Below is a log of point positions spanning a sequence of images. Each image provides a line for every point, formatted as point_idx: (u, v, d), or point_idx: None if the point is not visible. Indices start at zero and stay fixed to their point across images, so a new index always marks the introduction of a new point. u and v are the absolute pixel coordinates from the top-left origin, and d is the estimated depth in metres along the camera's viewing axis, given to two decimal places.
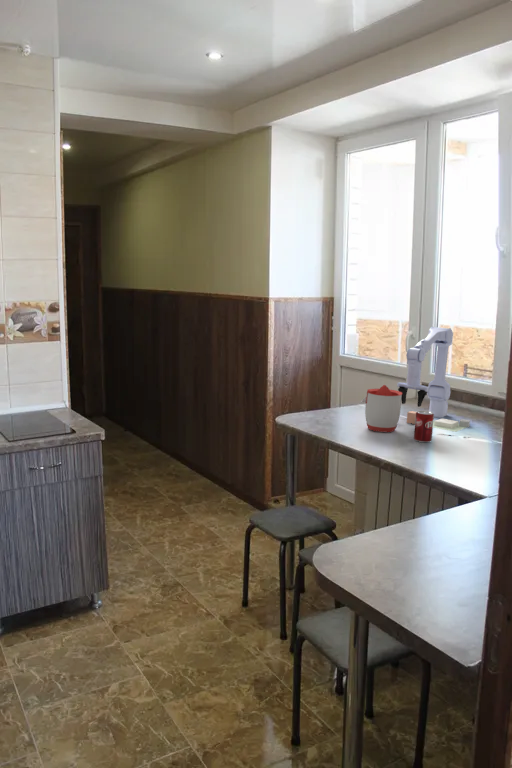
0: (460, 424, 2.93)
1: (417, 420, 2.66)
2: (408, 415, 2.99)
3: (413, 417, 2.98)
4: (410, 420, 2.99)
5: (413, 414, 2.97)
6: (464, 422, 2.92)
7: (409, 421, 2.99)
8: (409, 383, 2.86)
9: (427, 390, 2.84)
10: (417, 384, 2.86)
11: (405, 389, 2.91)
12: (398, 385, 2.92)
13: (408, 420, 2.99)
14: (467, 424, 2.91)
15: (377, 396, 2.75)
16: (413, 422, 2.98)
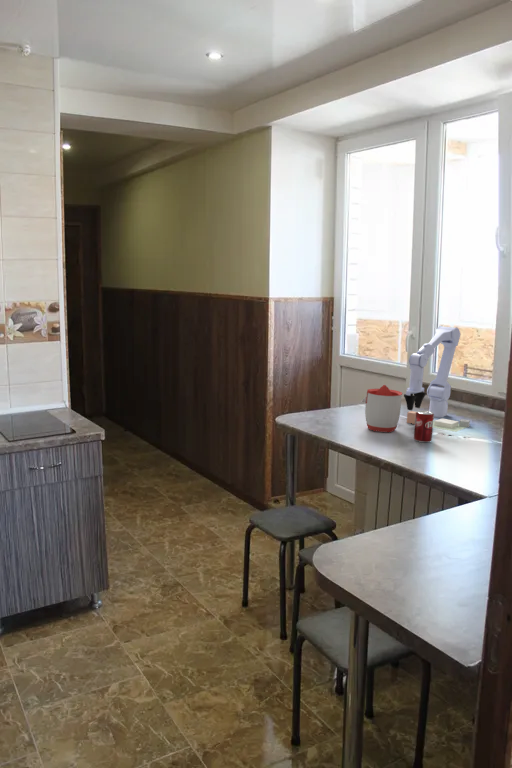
0: (460, 424, 2.93)
1: (417, 420, 2.66)
2: (408, 415, 2.99)
3: (413, 417, 2.98)
4: (410, 420, 2.99)
5: (413, 414, 2.97)
6: (464, 422, 2.92)
7: (410, 421, 2.99)
8: None
9: (406, 394, 2.93)
10: (410, 388, 2.96)
11: (419, 394, 3.01)
12: None
13: (408, 420, 2.99)
14: (467, 424, 2.91)
15: (377, 396, 2.75)
16: (413, 422, 2.98)
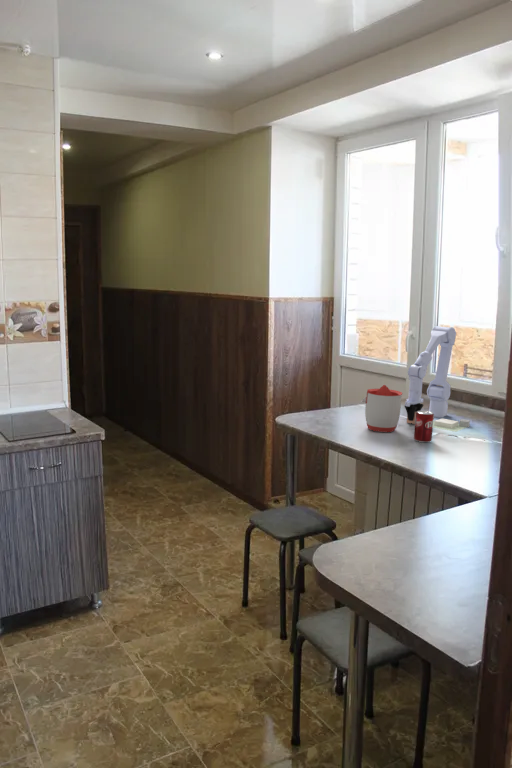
0: (460, 424, 2.93)
1: (417, 420, 2.66)
2: None
3: None
4: None
5: None
6: (464, 422, 2.92)
7: (410, 421, 2.99)
8: None
9: (406, 405, 2.94)
10: (409, 399, 2.97)
11: (416, 405, 3.00)
12: None
13: (408, 420, 2.99)
14: (467, 424, 2.91)
15: (377, 396, 2.75)
16: (413, 422, 2.98)
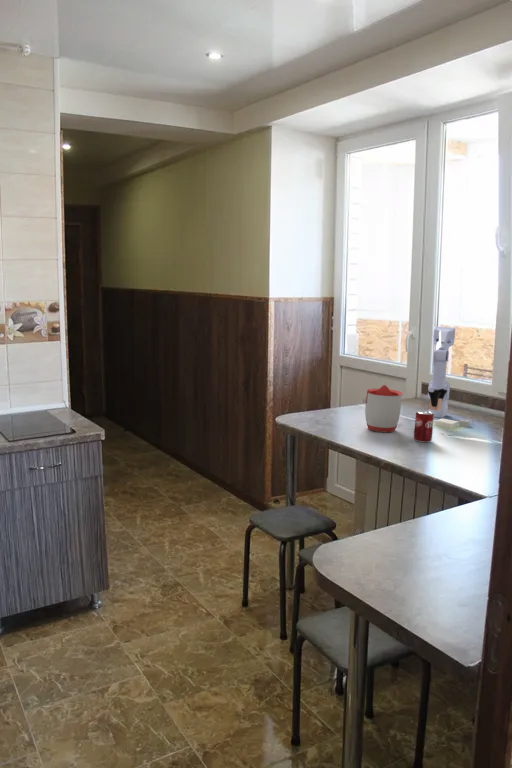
0: (460, 424, 2.93)
1: (417, 420, 2.66)
2: None
3: None
4: None
5: None
6: (464, 422, 2.92)
7: (432, 407, 2.93)
8: None
9: (429, 390, 2.88)
10: (433, 384, 2.91)
11: (440, 391, 2.94)
12: None
13: (431, 406, 2.94)
14: (467, 424, 2.91)
15: (377, 396, 2.75)
16: (436, 408, 2.92)
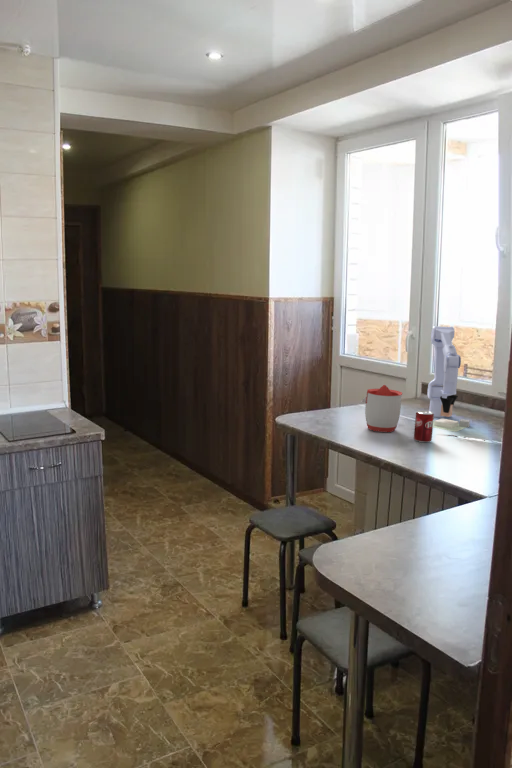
0: (460, 424, 2.93)
1: (417, 420, 2.66)
2: (442, 408, 2.91)
3: None
4: None
5: None
6: (464, 422, 2.92)
7: (444, 414, 2.91)
8: None
9: (443, 396, 2.85)
10: (445, 390, 2.89)
11: (451, 397, 2.92)
12: None
13: (442, 413, 2.91)
14: (467, 424, 2.91)
15: (377, 396, 2.75)
16: (448, 415, 2.90)
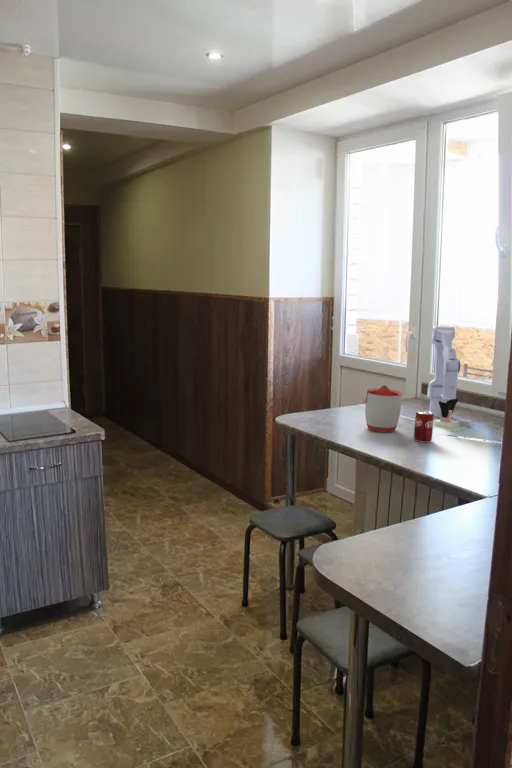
0: (460, 424, 2.93)
1: (417, 420, 2.66)
2: None
3: None
4: (444, 418, 2.91)
5: None
6: (464, 422, 2.92)
7: (443, 419, 2.91)
8: None
9: (442, 401, 2.85)
10: (445, 395, 2.89)
11: (451, 400, 2.94)
12: None
13: (442, 418, 2.92)
14: (467, 424, 2.91)
15: (377, 396, 2.75)
16: (447, 420, 2.90)
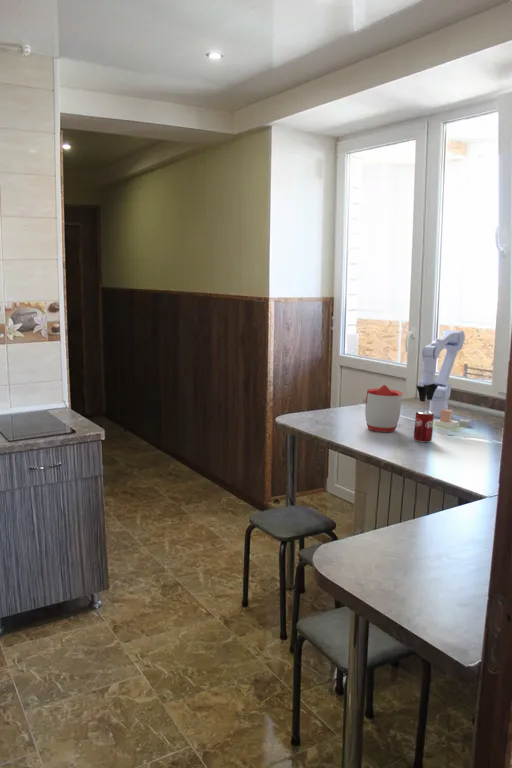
0: (460, 424, 2.93)
1: (417, 420, 2.66)
2: (442, 413, 2.91)
3: (447, 415, 2.90)
4: (444, 418, 2.91)
5: (447, 412, 2.90)
6: (464, 422, 2.92)
7: (443, 419, 2.91)
8: None
9: (419, 385, 2.94)
10: (423, 379, 2.97)
11: (431, 386, 3.02)
12: None
13: (442, 418, 2.92)
14: (467, 424, 2.91)
15: (377, 396, 2.75)
16: (447, 420, 2.90)
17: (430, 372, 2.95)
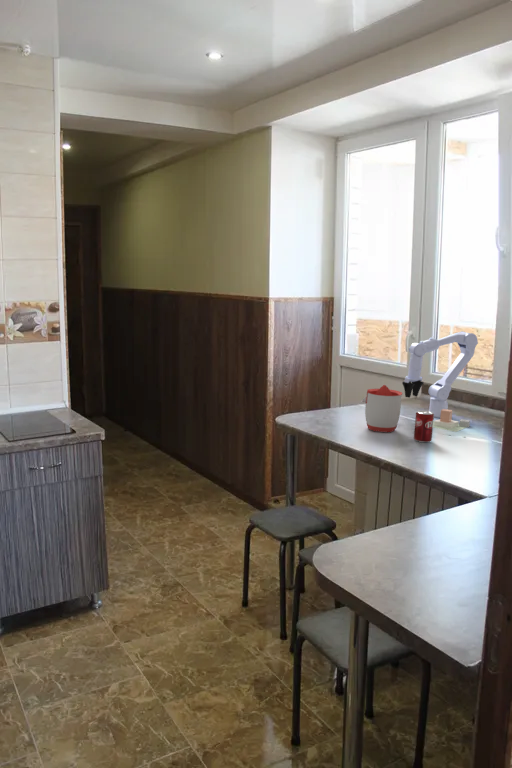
0: (460, 424, 2.93)
1: (417, 420, 2.66)
2: (442, 413, 2.91)
3: (447, 415, 2.90)
4: (444, 418, 2.91)
5: (447, 412, 2.90)
6: (464, 422, 2.92)
7: (443, 419, 2.91)
8: None
9: (405, 381, 3.02)
10: (409, 376, 3.05)
11: (417, 382, 3.10)
12: None
13: (442, 418, 2.92)
14: (467, 424, 2.91)
15: (377, 396, 2.75)
16: (447, 420, 2.90)
17: (416, 369, 3.03)
